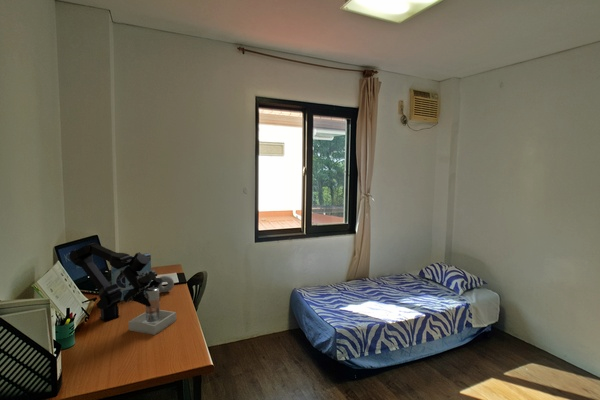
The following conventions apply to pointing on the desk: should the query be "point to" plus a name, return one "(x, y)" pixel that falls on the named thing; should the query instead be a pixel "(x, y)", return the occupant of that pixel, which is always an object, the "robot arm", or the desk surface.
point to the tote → (152, 323)
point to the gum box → (123, 281)
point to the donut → (169, 286)
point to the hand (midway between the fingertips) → (155, 303)
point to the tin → (153, 304)
